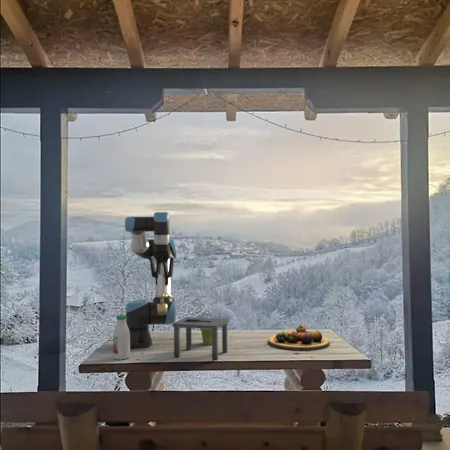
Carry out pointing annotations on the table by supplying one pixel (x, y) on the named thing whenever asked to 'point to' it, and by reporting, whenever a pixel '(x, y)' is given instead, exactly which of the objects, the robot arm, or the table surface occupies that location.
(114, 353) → the milk bottle
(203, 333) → the plant pot
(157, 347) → the table surface
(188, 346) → the shelf
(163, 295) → the brass hanging weight
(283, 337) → the wooden plate with food
